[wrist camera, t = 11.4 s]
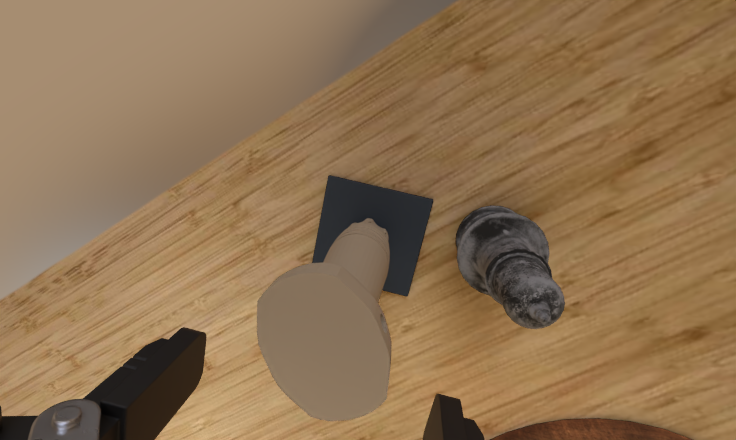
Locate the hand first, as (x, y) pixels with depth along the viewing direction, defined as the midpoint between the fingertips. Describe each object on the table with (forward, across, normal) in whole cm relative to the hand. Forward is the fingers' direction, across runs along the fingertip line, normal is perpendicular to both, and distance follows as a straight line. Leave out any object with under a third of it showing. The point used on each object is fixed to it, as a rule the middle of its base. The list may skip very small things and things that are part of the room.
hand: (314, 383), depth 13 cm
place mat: (+17, 0, 0) cm, 17 cm away
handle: (+17, 0, 0) cm, 17 cm away
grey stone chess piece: (+17, -9, -2) cm, 20 cm away
